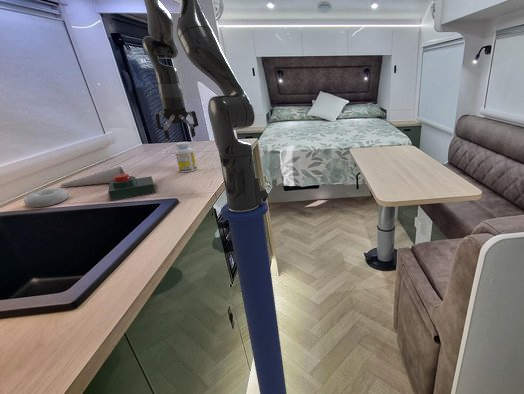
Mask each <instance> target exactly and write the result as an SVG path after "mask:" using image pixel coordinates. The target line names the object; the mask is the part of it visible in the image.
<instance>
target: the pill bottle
mask: <svg viewBox="0 0 524 394" xmlns="http://www.w3.org/2000/svg"><path fill="white" fill-rule="evenodd" d="M175 147H176V149H175V151H174V153H175V158H176V162H177V165H178V169H179V172H181V173H190V172H194V171H196V170H198V169H197V168H198V166H197V163H196V157H195V153H194V150H193V148H191V147H190V142H189V141H178V142H176V143H175Z"/></svg>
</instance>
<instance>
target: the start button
mask: <svg viewBox="0 0 524 394" xmlns="http://www.w3.org/2000/svg"><path fill="white" fill-rule="evenodd" d="M129 176H130V174H129V173H125V174H119V175H116V176H114V179H115V182H121V181H126V180H129V179H130V177H129Z"/></svg>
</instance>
